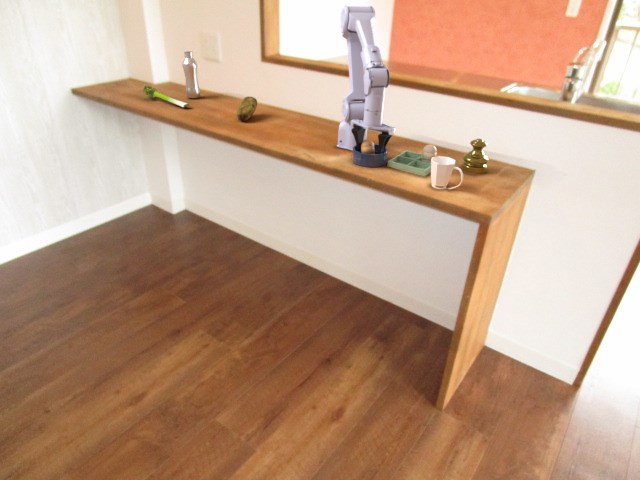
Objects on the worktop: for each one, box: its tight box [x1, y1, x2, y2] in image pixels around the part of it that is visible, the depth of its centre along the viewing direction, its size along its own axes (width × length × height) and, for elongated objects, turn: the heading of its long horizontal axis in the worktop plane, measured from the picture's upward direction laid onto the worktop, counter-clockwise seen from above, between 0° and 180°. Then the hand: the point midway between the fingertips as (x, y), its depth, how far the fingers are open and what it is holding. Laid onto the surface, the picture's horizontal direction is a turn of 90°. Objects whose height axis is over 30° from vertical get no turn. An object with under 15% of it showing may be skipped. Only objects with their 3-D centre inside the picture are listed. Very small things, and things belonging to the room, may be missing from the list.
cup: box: [430, 155, 464, 191], centre depth 129 cm, size 7×10×8 cm
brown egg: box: [361, 139, 375, 154], centre depth 146 cm, size 4×4×7 cm
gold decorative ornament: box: [460, 138, 489, 175], centre depth 141 cm, size 7×7×10 cm
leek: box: [142, 84, 191, 109], centre depth 204 cm, size 6×7×30 cm
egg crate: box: [386, 149, 431, 177], centre depth 144 cm, size 13×13×2 cm
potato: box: [236, 96, 258, 122], centre depth 184 cm, size 8×13×8 cm, turn 151°
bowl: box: [351, 143, 389, 168], centre depth 146 cm, size 11×11×4 cm
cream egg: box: [421, 143, 438, 163], centre depth 144 cm, size 4×4×7 cm
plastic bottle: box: [181, 51, 201, 99], centre depth 208 cm, size 6×7×20 cm
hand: (370, 152), depth 145 cm, fingers open, 7 cm apart
